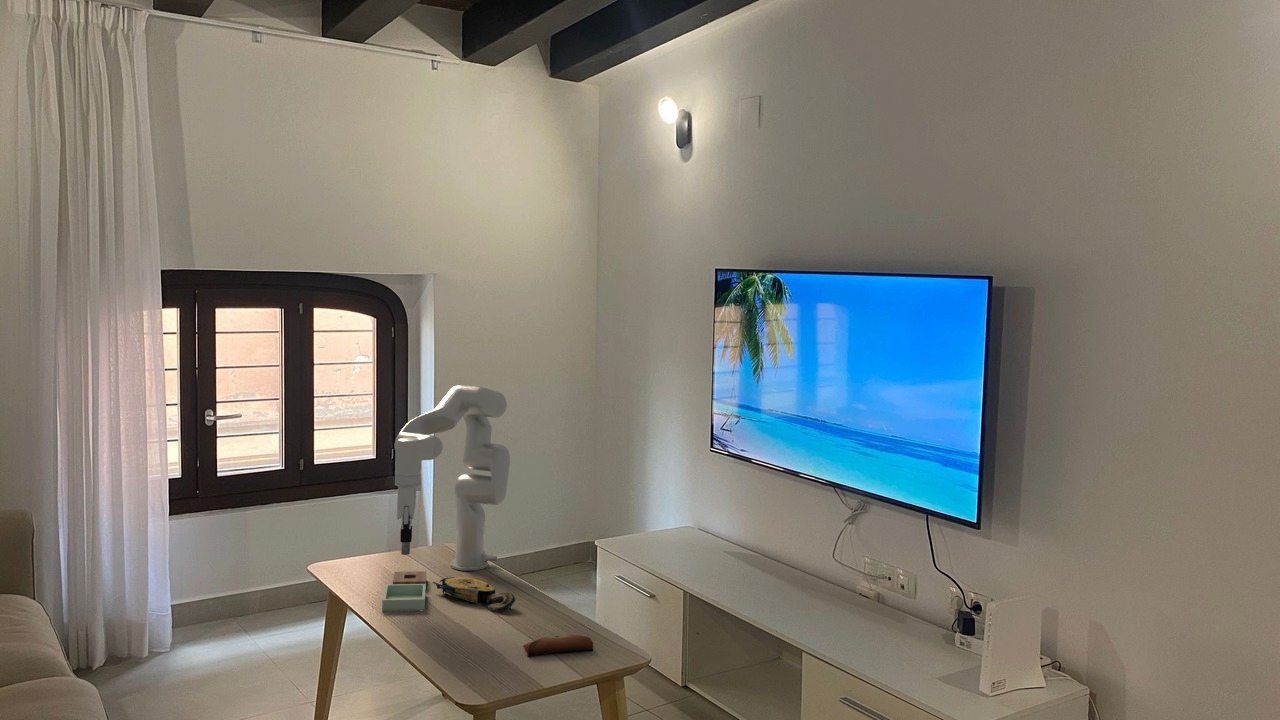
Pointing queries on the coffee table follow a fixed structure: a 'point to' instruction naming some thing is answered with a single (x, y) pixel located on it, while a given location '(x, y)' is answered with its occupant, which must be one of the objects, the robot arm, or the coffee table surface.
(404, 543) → the pin
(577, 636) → the sunglasses case
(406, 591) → the tray
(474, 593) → the pulley block
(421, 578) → the block
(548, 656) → the coffee table surface
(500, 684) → the coffee table surface
